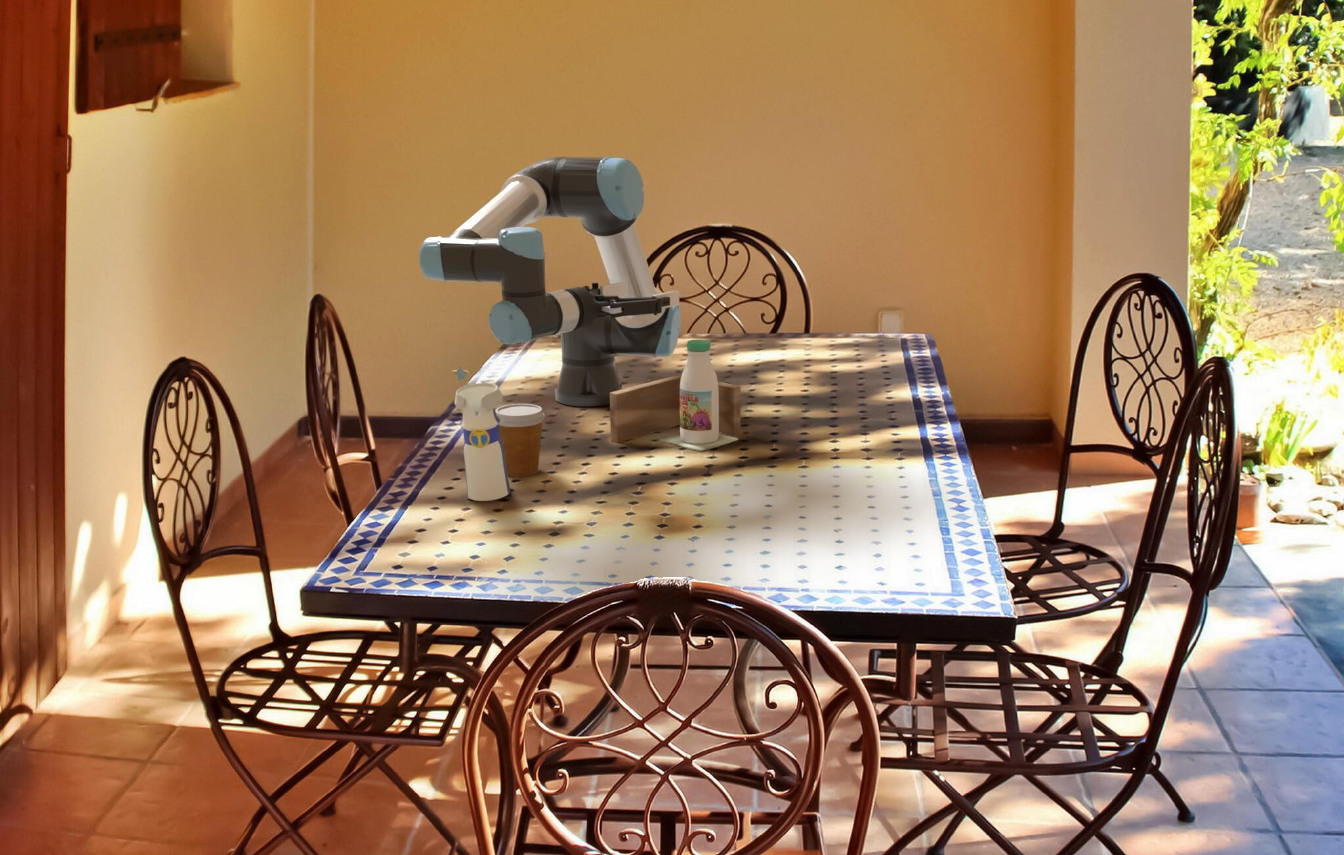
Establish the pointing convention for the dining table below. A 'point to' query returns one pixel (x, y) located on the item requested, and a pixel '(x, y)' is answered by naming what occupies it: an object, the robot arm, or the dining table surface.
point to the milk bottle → (699, 396)
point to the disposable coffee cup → (521, 437)
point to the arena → (668, 412)
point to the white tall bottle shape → (482, 439)
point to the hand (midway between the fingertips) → (651, 293)
